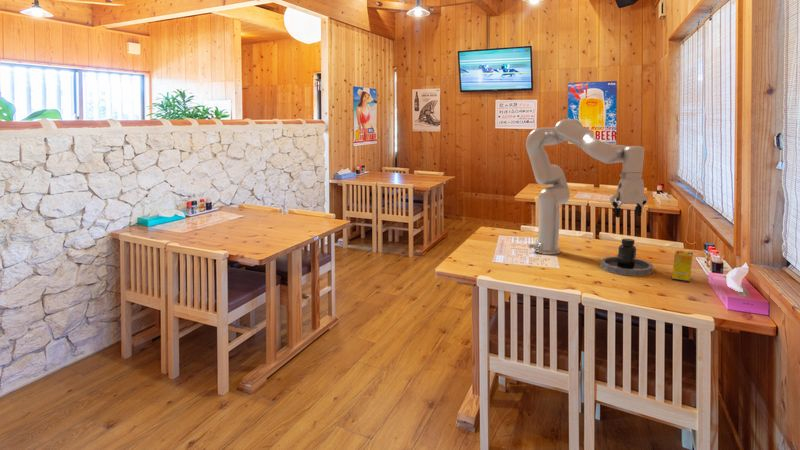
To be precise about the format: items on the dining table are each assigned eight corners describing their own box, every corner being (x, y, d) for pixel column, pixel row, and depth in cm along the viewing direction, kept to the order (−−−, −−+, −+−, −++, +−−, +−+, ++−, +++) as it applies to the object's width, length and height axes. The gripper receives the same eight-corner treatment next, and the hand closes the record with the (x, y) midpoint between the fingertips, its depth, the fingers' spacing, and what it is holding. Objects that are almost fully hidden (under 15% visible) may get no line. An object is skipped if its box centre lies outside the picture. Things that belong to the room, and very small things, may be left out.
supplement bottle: (636, 269, 194) (639, 241, 191) (619, 268, 195) (621, 241, 193) (632, 264, 200) (634, 238, 198) (615, 264, 202) (617, 237, 199)
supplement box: (672, 276, 187) (675, 250, 185) (690, 278, 184) (693, 252, 182) (671, 280, 183) (674, 253, 180) (689, 282, 179) (692, 255, 177)
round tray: (619, 277, 186) (620, 271, 186) (591, 263, 206) (591, 258, 205) (663, 274, 190) (664, 268, 189) (631, 260, 209) (631, 255, 208)
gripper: (618, 177, 186) (614, 219, 190) (656, 176, 189) (651, 217, 193) (607, 175, 193) (603, 215, 197) (644, 174, 196) (639, 214, 200)
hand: (627, 216), depth 195 cm, fingers open, 9 cm apart
